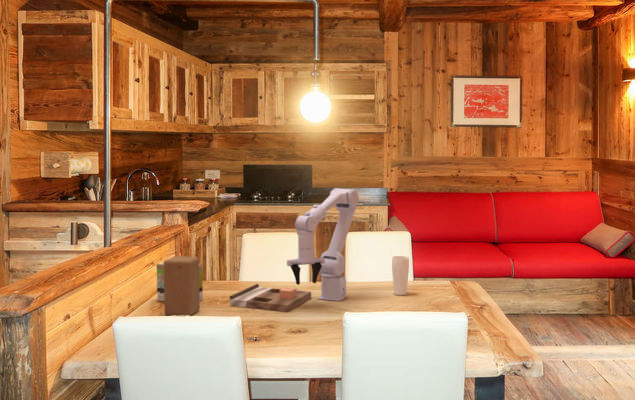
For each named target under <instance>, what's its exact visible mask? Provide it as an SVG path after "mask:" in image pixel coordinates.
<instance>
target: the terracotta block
mask: <svg viewBox="0 0 635 400" xmlns="http://www.w3.org/2000/svg"><path fill="white" fill-rule="evenodd" d="M280 289H281V290H279V298H284V299H293V298H294V297H296V296H297V291H298V290H297V288H296V287H295V288H294V287H282V288H280Z"/></svg>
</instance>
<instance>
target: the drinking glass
mask: <svg viewBox="0 0 635 400" xmlns="http://www.w3.org/2000/svg"><path fill="white" fill-rule="evenodd" d="M391 272H392V273H391V274H392V287H393V294H394V295H395V296H406V295H407V293H408V280H409V272H410V257H408V256H404V255H396V256H392V257H391Z"/></svg>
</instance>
